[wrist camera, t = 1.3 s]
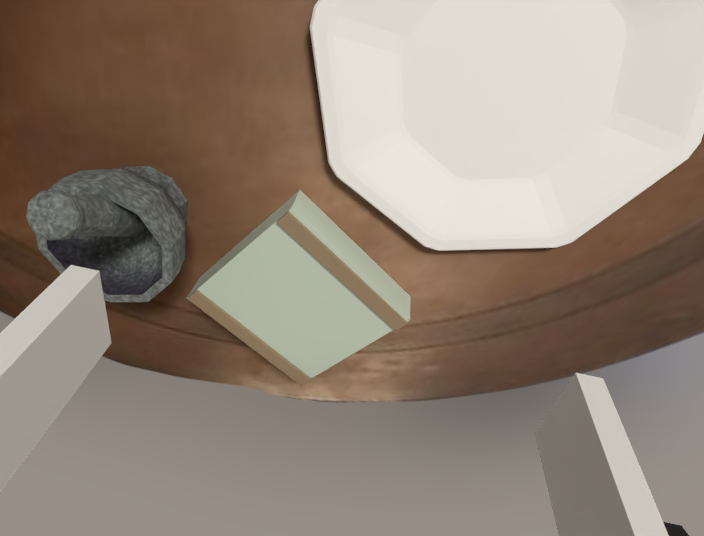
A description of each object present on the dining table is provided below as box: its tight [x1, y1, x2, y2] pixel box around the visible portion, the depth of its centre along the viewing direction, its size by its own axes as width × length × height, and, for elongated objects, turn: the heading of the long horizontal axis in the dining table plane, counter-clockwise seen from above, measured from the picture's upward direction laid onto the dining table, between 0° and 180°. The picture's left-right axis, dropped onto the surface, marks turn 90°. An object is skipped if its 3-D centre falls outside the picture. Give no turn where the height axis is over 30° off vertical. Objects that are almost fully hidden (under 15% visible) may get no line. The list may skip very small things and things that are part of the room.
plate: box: [310, 0, 704, 251], centre depth 29 cm, size 24×24×2 cm
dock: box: [187, 190, 410, 386], centre depth 39 cm, size 13×13×3 cm
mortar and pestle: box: [26, 166, 187, 302], centre depth 32 cm, size 11×9×12 cm
